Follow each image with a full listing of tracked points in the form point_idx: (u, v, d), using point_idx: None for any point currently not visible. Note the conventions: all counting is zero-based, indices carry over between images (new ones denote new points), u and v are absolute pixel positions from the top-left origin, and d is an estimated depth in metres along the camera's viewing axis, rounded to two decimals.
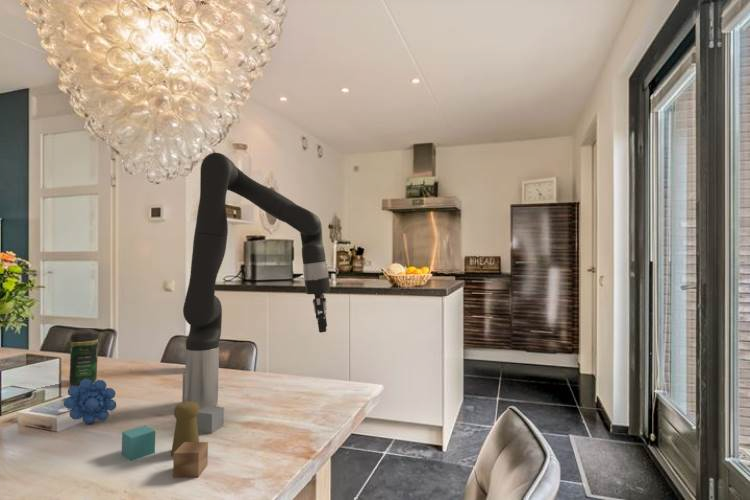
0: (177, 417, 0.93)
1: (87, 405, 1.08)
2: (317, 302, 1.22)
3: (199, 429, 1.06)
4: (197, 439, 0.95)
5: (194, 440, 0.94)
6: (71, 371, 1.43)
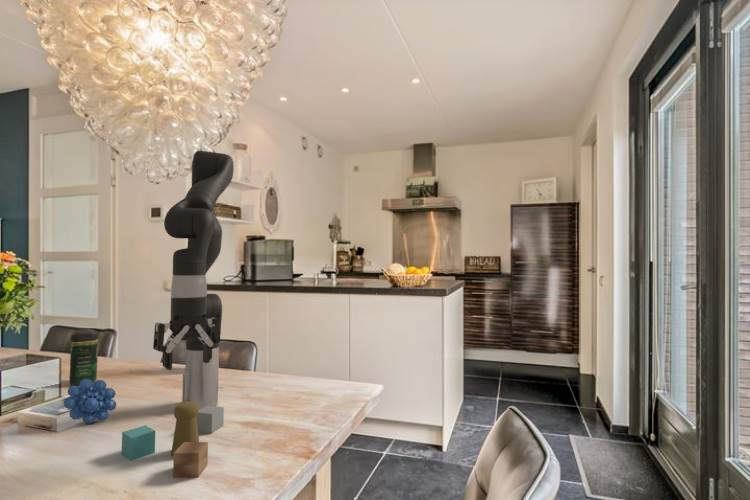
0: (177, 417, 0.93)
1: (87, 405, 1.08)
2: (156, 328, 0.91)
3: (199, 429, 1.06)
4: (197, 439, 0.95)
5: (194, 440, 0.94)
6: (71, 371, 1.43)
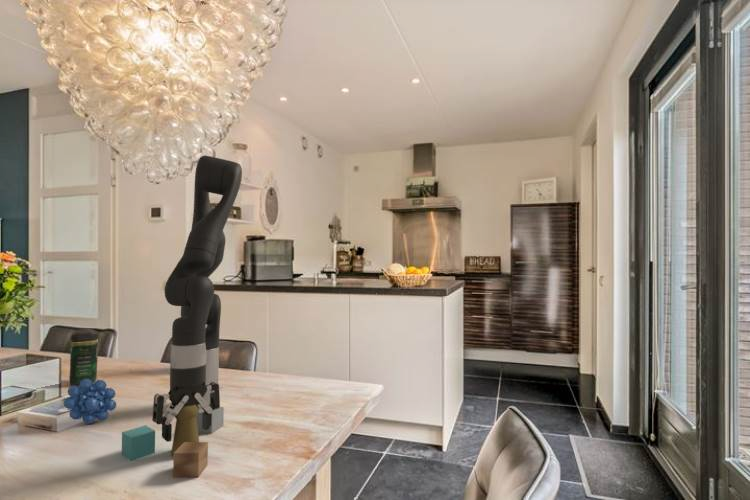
0: (177, 417, 0.93)
1: (87, 405, 1.08)
2: (155, 400, 0.91)
3: (199, 429, 1.06)
4: (197, 439, 0.95)
5: (194, 440, 0.94)
6: (71, 371, 1.43)
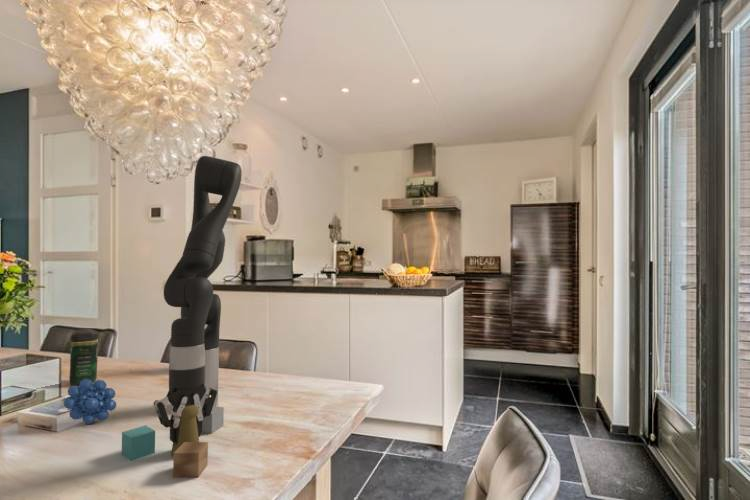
0: None
1: (87, 405, 1.08)
2: (156, 407, 0.91)
3: None
4: (197, 439, 0.95)
5: (194, 440, 0.94)
6: (71, 371, 1.43)
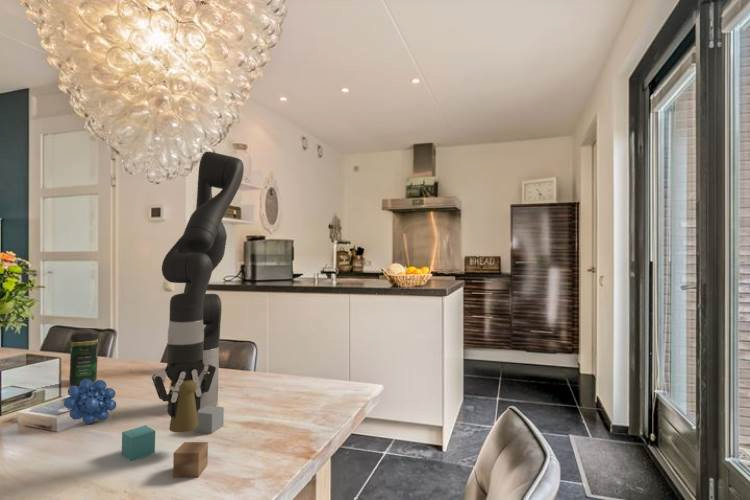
0: None
1: (87, 405, 1.08)
2: (154, 381, 0.91)
3: (199, 429, 1.06)
4: (195, 414, 0.96)
5: (192, 415, 0.95)
6: (71, 371, 1.43)
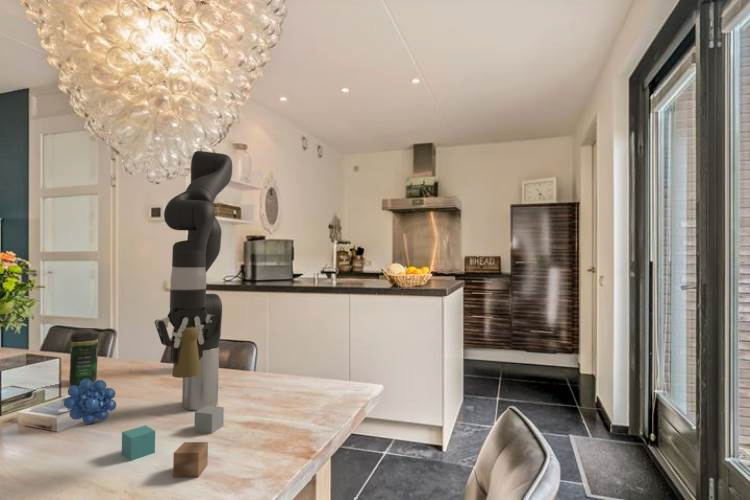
0: None
1: (87, 405, 1.08)
2: (157, 326, 0.92)
3: (199, 429, 1.06)
4: (198, 361, 0.96)
5: (195, 362, 0.95)
6: (71, 371, 1.43)
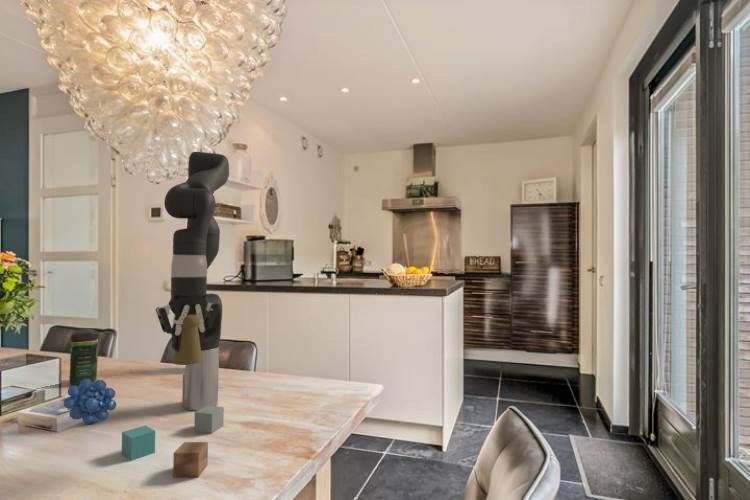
0: None
1: (87, 405, 1.08)
2: (158, 313, 0.92)
3: (199, 429, 1.06)
4: (199, 349, 0.96)
5: (196, 349, 0.95)
6: (71, 371, 1.43)
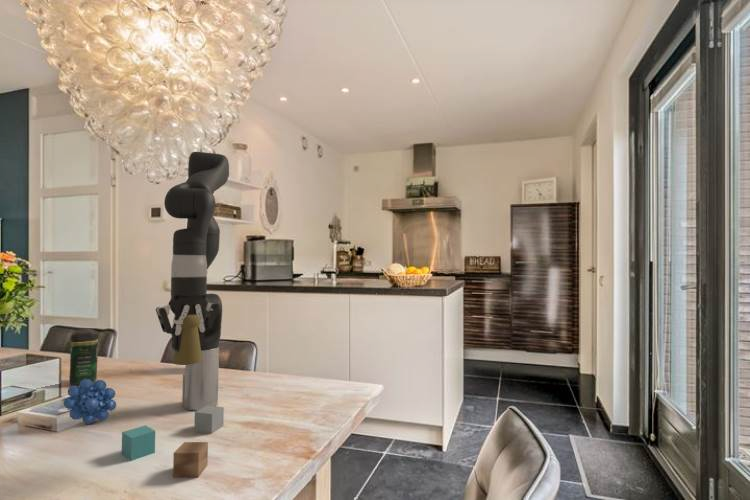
0: None
1: (87, 405, 1.08)
2: (158, 313, 0.92)
3: (199, 429, 1.06)
4: (199, 349, 0.96)
5: (196, 349, 0.95)
6: (71, 371, 1.43)
